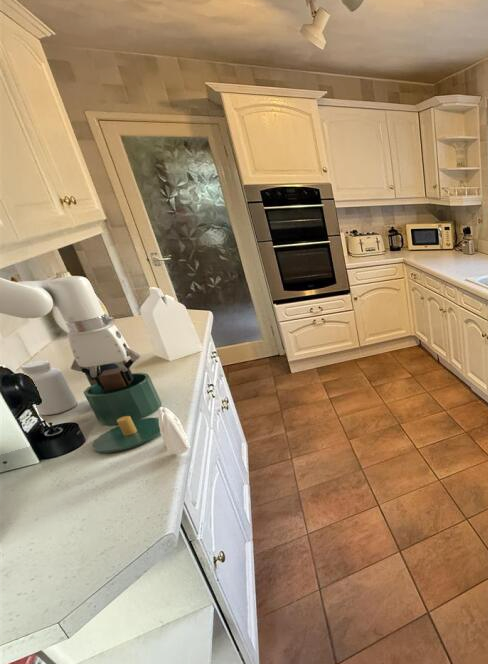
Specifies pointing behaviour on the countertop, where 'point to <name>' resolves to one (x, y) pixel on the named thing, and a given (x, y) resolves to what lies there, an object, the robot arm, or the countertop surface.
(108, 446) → the tin lid
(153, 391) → the tea tin
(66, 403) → the pill bottle
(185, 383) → the countertop surface
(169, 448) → the white piece
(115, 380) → the block
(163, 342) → the milk
